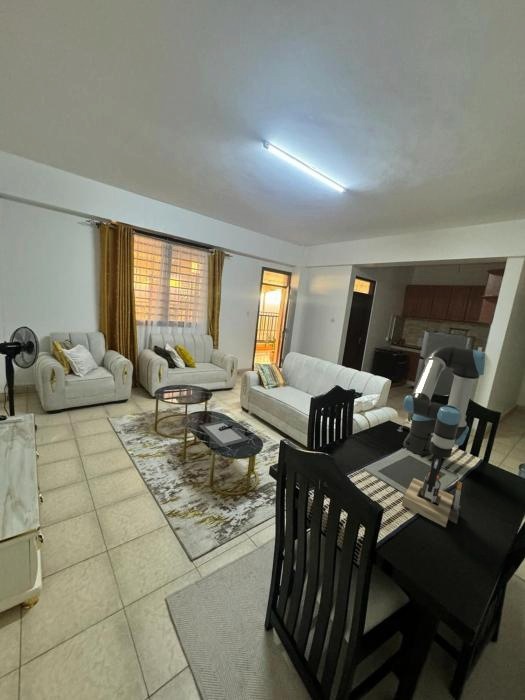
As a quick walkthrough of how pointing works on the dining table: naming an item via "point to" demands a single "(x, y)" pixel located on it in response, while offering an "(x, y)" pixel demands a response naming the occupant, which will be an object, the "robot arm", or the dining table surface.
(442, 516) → the block
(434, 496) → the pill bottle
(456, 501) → the ring bar
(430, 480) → the robot arm
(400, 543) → the dining table surface
